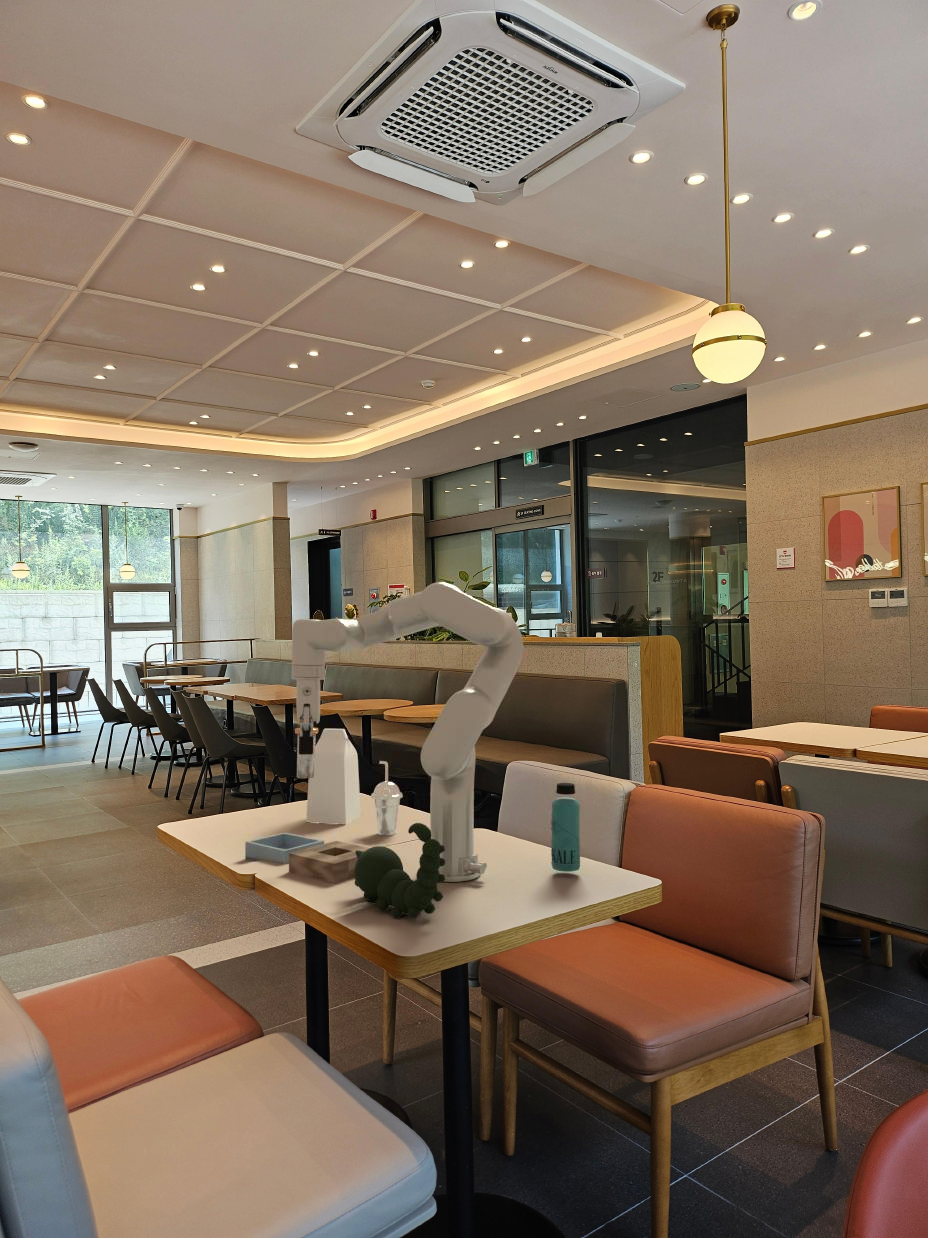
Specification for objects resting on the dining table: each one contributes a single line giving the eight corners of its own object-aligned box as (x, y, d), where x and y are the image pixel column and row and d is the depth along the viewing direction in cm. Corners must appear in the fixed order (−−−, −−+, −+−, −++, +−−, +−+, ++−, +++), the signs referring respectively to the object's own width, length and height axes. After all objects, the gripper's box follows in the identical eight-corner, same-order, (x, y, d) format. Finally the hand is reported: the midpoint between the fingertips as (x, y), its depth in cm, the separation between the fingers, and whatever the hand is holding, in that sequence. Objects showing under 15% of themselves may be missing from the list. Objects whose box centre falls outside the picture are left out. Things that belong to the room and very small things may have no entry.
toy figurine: (453, 929, 152) (372, 887, 170) (459, 827, 151) (377, 796, 170) (413, 941, 146) (334, 896, 164) (419, 835, 145) (339, 802, 163)
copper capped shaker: (322, 776, 189) (323, 728, 190) (305, 779, 185) (306, 730, 186) (306, 774, 192) (307, 727, 193) (289, 777, 188) (290, 728, 189)
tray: (324, 857, 196) (324, 840, 196) (284, 869, 186) (284, 851, 186) (284, 848, 204) (284, 832, 204) (245, 859, 195) (245, 842, 195)
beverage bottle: (571, 869, 185) (571, 780, 186) (586, 877, 179) (586, 784, 180) (545, 872, 183) (545, 781, 184) (559, 880, 177) (559, 786, 177)
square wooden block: (380, 874, 182) (380, 850, 182) (334, 889, 171) (334, 863, 171) (335, 863, 190) (335, 841, 191) (288, 877, 179) (288, 853, 179)
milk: (306, 822, 234) (306, 730, 234) (322, 814, 245) (322, 726, 246) (345, 825, 231) (346, 731, 232) (360, 816, 242) (360, 727, 243)
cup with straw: (409, 833, 220) (409, 758, 221) (382, 839, 214) (382, 761, 215) (389, 828, 226) (389, 755, 227) (362, 833, 220) (362, 758, 221)
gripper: (324, 675, 182) (322, 758, 181) (325, 671, 198) (323, 747, 198) (289, 674, 180) (287, 758, 180) (293, 671, 197) (291, 747, 197)
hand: (306, 751), depth 189 cm, fingers closed on copper capped shaker, 4 cm apart
